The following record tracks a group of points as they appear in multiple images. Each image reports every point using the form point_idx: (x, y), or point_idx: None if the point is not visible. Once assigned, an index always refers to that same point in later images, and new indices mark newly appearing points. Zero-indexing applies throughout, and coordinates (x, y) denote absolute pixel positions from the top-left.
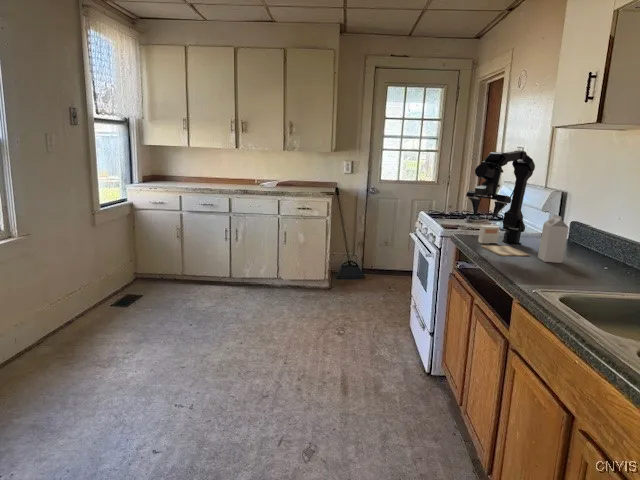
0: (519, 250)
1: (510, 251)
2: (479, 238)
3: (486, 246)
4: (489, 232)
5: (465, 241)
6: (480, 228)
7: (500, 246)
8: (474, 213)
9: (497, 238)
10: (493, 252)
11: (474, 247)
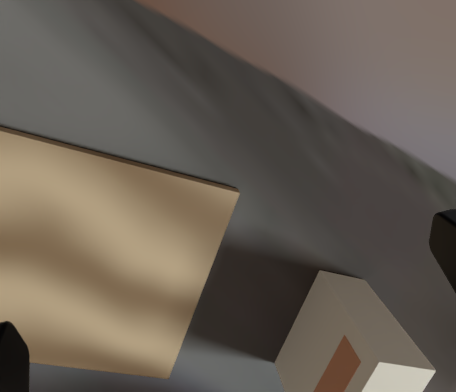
0: (39, 362)
1: (15, 279)
2: (364, 293)
3: (197, 207)
4: (331, 370)
5: (404, 189)
6: (412, 349)
7: (173, 313)
8: (445, 217)
9: (286, 389)
10: (34, 136)
11: (231, 109)
